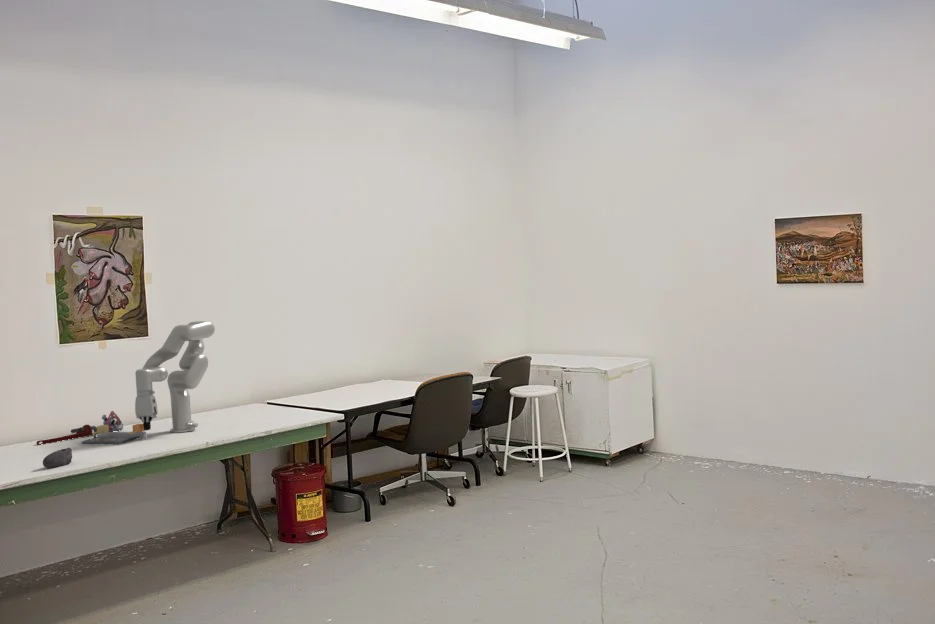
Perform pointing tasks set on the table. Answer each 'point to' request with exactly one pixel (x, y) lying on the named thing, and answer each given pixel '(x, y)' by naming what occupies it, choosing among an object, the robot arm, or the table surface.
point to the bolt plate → (112, 436)
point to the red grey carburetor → (113, 422)
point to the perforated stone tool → (58, 458)
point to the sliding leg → (136, 429)
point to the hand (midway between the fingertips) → (147, 429)
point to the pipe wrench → (80, 432)
